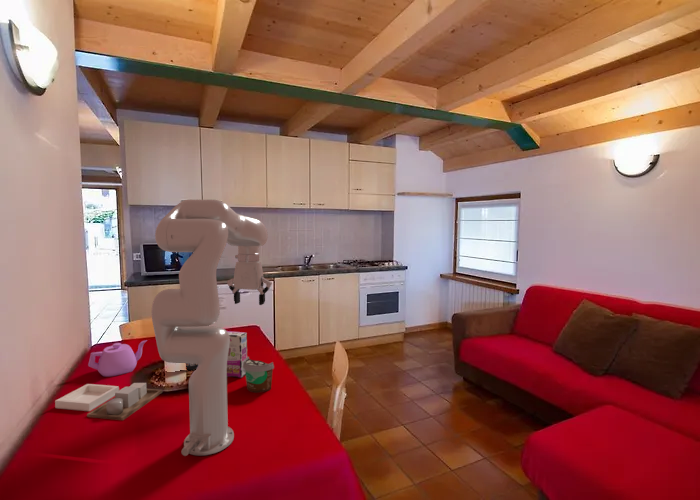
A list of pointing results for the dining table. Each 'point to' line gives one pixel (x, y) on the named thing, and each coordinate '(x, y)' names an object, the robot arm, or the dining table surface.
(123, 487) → the dining table surface
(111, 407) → the pebble round
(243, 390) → the dining table surface
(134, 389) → the stone cube
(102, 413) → the walnut tray
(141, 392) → the white cube
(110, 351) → the teapot
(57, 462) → the dining table surface
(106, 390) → the dish
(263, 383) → the food container
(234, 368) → the candy bar box
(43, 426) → the dining table surface
